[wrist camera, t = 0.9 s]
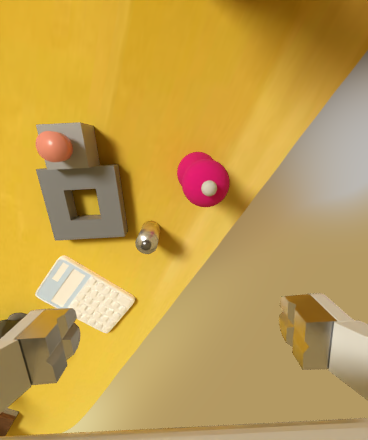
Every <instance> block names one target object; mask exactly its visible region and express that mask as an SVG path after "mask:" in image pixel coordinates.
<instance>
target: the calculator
mask: <svg viewBox="0 0 368 440" xmlns="http://www.w3.org/2000/svg"><path fill="white" fill-rule="evenodd" d="M90 289H91V290H90ZM35 295H36V297H37V298H39V299H41V300H42V301H44V302H46V303H48V304H50V305H52V306H54V307H56V308H57V309H62V308H73V309H74V310H75V312H76V315H77V318H76V319H78V320H80V321H82V322H84V323H86V324H88V325H90V326H92V327H94V328H95V329H97V330H99V331H101V332H103V333H108V332H109V331H110V330H111V329H112V328H113V327H114V326H115V325H116V324H117V322H118V321H119V320H120V319H121V318H122V316H123V315H124V314H125V313H126V312H127V311H128V309H129V308H130V307H131V306H132V305H133V303H134V302H135V297H134V296H133V295H132V294H130V293H129V292H127V291H125V290H124V289H122V288H120V287H118V286H117V285H115V284H113V283H112V282H110V281H108V280H107V279H105V278H103V277H102V276H100V275H98V274H96V273H95V272H93V271H91V270H90V269H88V268H86V267H85V266H83V265H81V264H80V263H78V262H76V261H74V260H73V259H71V258H69V257H67V256H64V255H63V256H61V257H59V258H58V260H57V261H56V262H55V264H54V265H53V267H52V268H51V270H50V271H49V273H48V274H47V276H46V277H45V279H44V280H43V282H42V283H41V285H40V286H39V288H38V289H37V291H36V293H35ZM92 300H93V301H92ZM104 301H105V302H104Z"/></svg>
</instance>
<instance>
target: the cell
mask: <svg viewBox="0 0 368 440" xmlns="http://www.w3.org/2000/svg"><path fill="white" fill-rule="evenodd" d="M159 235H160V226H159V225H158V224H157V223H156V222H154V221H148V222H146V223H144V224H143V226H142V228H141V231H140V233H139V235H138V237H137V240H136V247H137V249H138V250H139V251H140V252H142V253H144V254H150V253H152V252H154V251H155V250H156V248H157V245H158V240H159Z"/></svg>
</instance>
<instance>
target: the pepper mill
mask: <svg viewBox="0 0 368 440" xmlns="http://www.w3.org/2000/svg"><path fill="white" fill-rule="evenodd" d="M177 175H178V180H179V182H180V184H181V186H182V189H183V192H184V194H185V196H186V197H187V199H188V200H189V201H190V202H191V203H193V204H195V205H197V206H200V207H211V206H214V205H216V204H218V203H219V202H221V201H222V200H223V199H224V197H225V196H226V194H227V192H228V189H229V176H228V173H227V171H226V170H225V168H224V167H223V166H222V165H221V164H220V163H218V162H216V161H214V160H213V159H212V158H211V157H210V156H209V155H207V154H205V153H202V152H193V153H190V154H188V155H187V156H185V157H184V158H183V159H182V160H181V162H180V164H179V166H178V171H177Z"/></svg>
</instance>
